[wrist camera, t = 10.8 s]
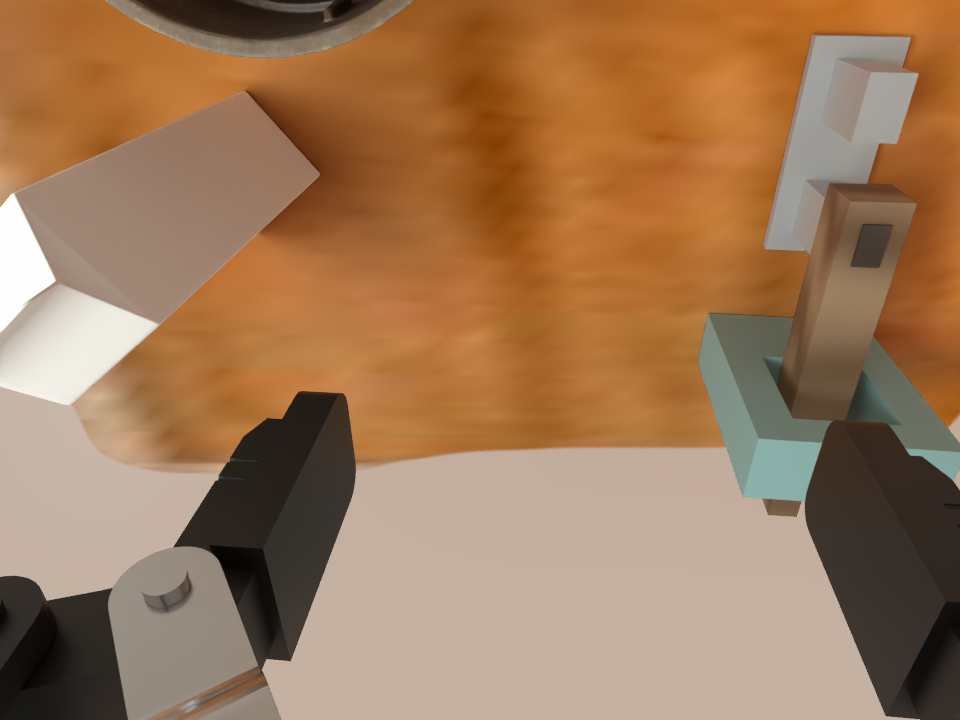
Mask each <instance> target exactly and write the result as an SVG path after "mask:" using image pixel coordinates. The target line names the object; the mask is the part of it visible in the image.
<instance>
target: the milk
mask: <svg viewBox="0 0 960 720" xmlns="http://www.w3.org/2000/svg"><path fill="white" fill-rule="evenodd" d="M319 176H320V173H319V172H318V171H317V170H316V168H315V167H314V166H313V165H312V164H311V163H310V162H309V161H308V160H307V158H306V157H305V156H304V155H303V154H302V153H301V152H300V151H299V150H298V148H297V147H296V146H295V145H294V144H293V143H292V142H291V141H290V140H289V139H288V137H287V136H286V135H285V134H284V133H283V132H282V131H281V130H280V129H279V127H278V126H277V125H276V124H275V123H274V122H273V121H272V120H271V119H270V117H269V116H268V115H267V114H266V113H265V112H264V111H263V110H262V109H261V108H260V106H259V105H258V104H257V103H256V102H255V101H254V100H253V99H252V98H251V96H250V95H249V94H248V93H247V92H246V91H242V92H240V93H237V94H235V95H233V96H231V97H228V98H226V99H224V100H221V101H219V102H217V103H215V104H212V105H210V106H208V107H206V108H203V109H201V110H199V111H197V112H194V113H192V114H190V115H188V116H185V117H183V118H181V119H178V120H176V121H174V122H172V123H169V124H167V125H165V126H163V127H160V128H158V129H156V130H154V131H151V132H149V133H147V134H144V135H142V136H140V137H138V138H135V139H133V140H131V141H129V142H126V143H124V144H122V145H120V146H117V147H115V148H113V149H111V150H108V151H106V152H104V153H101V154H99V155H97V156H95V157H92V158H90V159H88V160H86V161H83V162H81V163H79V164H77V165H74V166H72V167H70V168H67V169H65V170H63V171H61V172H58V173H56V174H54V175H52V176H49V177H47V178H45V179H43V180H40V181H38V182H36V183H34V184H31V185H29V186H27V187H24V188H22V189H20V190H18V191H16V192H14V193H12V194H11V195H10V196H9V198H8V199H7V200H6V201H5V202H4V204H3V205H2V206H1V207H0V387H4V388H7V389H11V390H14V391H18V392H22V393H25V394H28V395H32V396H35V397H39V398H43V399H46V400H50V401H53V402H57V403H60V404H64V405H71V404H72V403H74V402H75V401H76V400H77V399H78V398H79V397H81V396H82V395H83V394H84V393H85V392H86V391H87V390H88V389H89V388H91V387H92V386H93V385H94V384H95V383H96V382H97V381H98V380H99V379H101V378H102V377H103V376H104V375H105V374H106V373H107V372H108V371H109V370H111V369H112V368H113V367H114V366H115V365H116V364H117V363H118V362H119V361H121V360H122V359H123V358H124V357H125V356H126V355H127V354H128V353H129V352H131V351H132V350H133V349H134V348H135V347H136V346H137V345H138V344H139V343H141V342H142V341H143V340H144V339H145V338H146V337H147V336H148V335H149V334H151V333H152V332H153V331H154V330H155V329H156V328H157V327H158V326H159V325H161V324H162V323H163V322H164V321H165V320H166V319H167V318H168V317H169V316H170V315H171V314H172V313H173V312H174V311H176V310H177V309H178V308H179V307H180V306H181V305H182V304H183V303H184V302H185V301H186V300H187V299H188V298H189V297H191V296H192V295H193V294H194V293H195V292H196V291H197V290H198V289H199V288H200V287H201V286H202V285H203V284H204V283H206V282H207V281H208V280H209V279H210V278H211V277H212V276H213V275H214V274H215V273H216V272H217V271H218V270H219V269H221V268H222V267H223V266H224V265H225V264H226V263H227V262H228V261H229V260H230V259H231V258H232V257H233V256H234V255H236V254H237V253H238V252H239V251H240V250H241V249H242V248H243V247H244V246H245V245H246V244H247V243H248V242H249V241H251V240H252V239H253V238H254V237H255V236H256V235H257V234H258V233H259V232H260V231H261V230H262V229H263V228H264V227H266V226H267V225H268V224H269V223H270V222H271V221H272V220H273V219H274V218H275V217H276V216H277V215H278V214H279V213H281V212H282V211H283V210H284V209H285V208H286V207H287V206H288V205H289V204H290V203H291V202H292V201H293V200H294V199H296V198H297V197H298V196H299V195H300V194H301V193H302V192H303V191H304V190H305V189H306V188H307V187H308V186H309V185H311V184H312V183H313V182H314V181H315V180H316V179H317V178H318V177H319Z"/></svg>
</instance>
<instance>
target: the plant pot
mask: <svg viewBox="0 0 960 720" xmlns="http://www.w3.org/2000/svg"><path fill="white" fill-rule="evenodd" d="M105 1H107V2H108V3H109V4H111V5H112V6H114V7H115V8H117V9H118V10H119V11H121V12H123V13H124V14H126V15H127V16H129V17H131V18H132V19H134V20H135V21H137V22H139V23H141V24H143V25H145V26H146V27H148V28H150V29H152V30H154V31H156V32H158V33H161V34H163V35H165V36H167V37H169V38H172V39H174V40H177V41H179V42H182V43H185V44H187V45H190V46H194V47H197V48H201V49H204V50H208V51H212V52H217V53H222V54H228V55H234V56H241V57H250V58H283V57H292V56H299V55H306V54H311V53H315V52H319V51H323V50H327V49H331V48H333V47H336V46H339V45H341V44H344V43H346V42H349V41H352V40H354V39H356V38H358V37H360V36H362V35H364V34H366V33H368V32H370V31H371V30H373V29H375V28H377V27H378V26H380V25H382V24H383V23H385V22H386V21H388V20H389V19H391V18H392V17H393V16H395V15H396V14H397V13H399V12H400V11H401V10H403V9H404V8H405V7H406V6H408V5H409V4H410V3H411V2H413V1H414V0H105Z"/></svg>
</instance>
